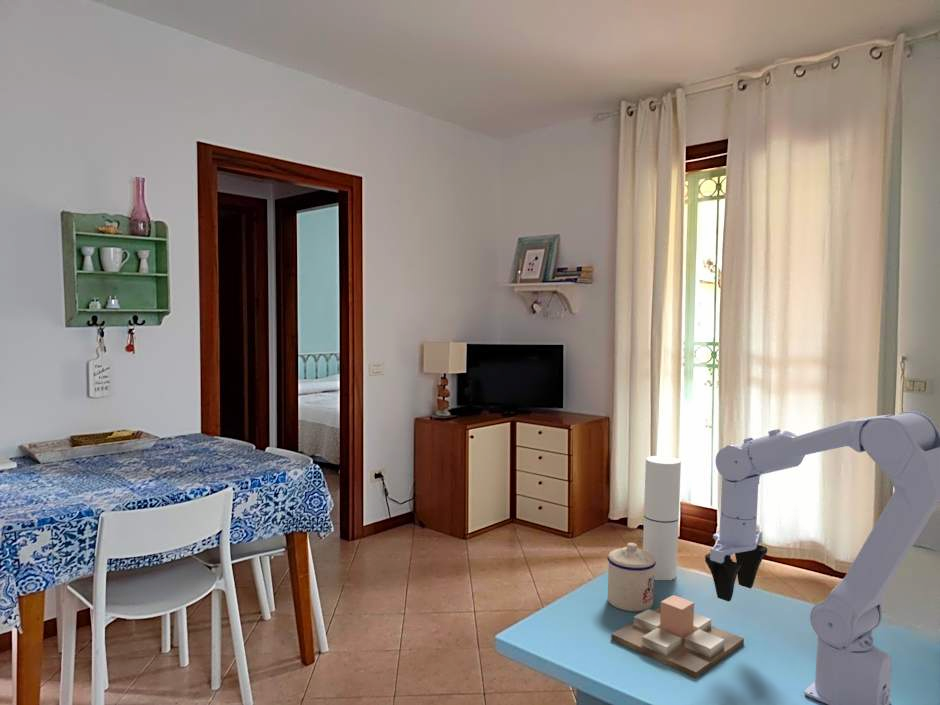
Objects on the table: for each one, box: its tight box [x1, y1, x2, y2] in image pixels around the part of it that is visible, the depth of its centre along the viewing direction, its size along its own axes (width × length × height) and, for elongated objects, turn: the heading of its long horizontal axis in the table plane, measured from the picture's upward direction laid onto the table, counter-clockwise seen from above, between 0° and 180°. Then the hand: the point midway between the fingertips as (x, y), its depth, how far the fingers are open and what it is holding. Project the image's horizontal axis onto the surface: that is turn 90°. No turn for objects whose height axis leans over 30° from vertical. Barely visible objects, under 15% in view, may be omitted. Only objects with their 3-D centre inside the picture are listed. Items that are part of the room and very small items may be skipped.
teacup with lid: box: [607, 542, 656, 612], centre depth 133 cm, size 12×9×12 cm
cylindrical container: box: [642, 455, 682, 581], centre depth 145 cm, size 7×7×25 cm
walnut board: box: [610, 606, 745, 679], centre depth 117 cm, size 16×16×2 cm
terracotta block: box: [660, 594, 695, 643], centre depth 117 cm, size 4×4×6 cm
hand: (735, 592), depth 115 cm, fingers open, 7 cm apart
